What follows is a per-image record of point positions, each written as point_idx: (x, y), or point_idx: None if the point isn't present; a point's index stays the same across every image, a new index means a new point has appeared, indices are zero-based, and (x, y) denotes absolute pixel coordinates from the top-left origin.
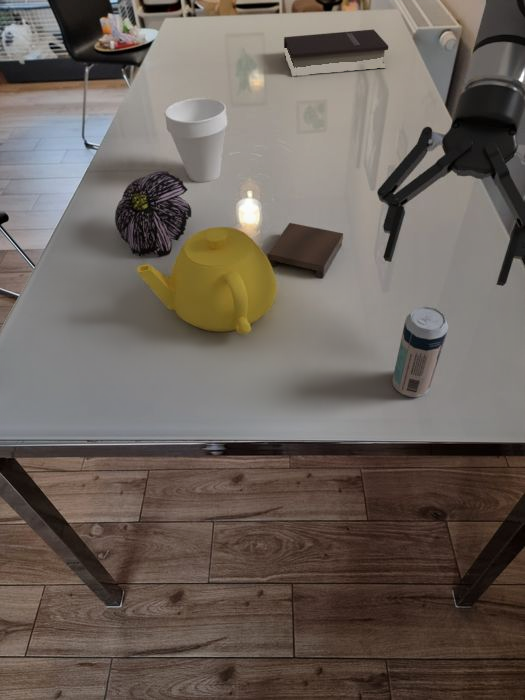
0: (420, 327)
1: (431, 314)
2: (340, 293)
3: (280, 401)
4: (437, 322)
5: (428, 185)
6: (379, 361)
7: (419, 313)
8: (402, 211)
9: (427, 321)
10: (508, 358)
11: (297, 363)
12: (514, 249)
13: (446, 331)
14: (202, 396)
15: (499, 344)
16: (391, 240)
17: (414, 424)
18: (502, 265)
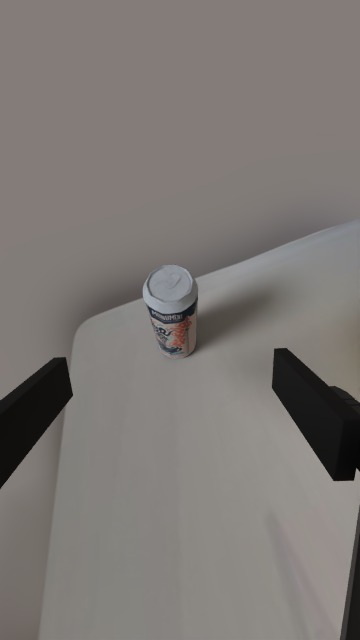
0: (174, 265)
1: (166, 291)
2: None
3: (279, 281)
4: (156, 282)
5: (345, 604)
6: (217, 360)
7: (182, 287)
8: (332, 409)
9: (168, 278)
10: (75, 427)
11: (294, 323)
12: (13, 393)
13: (143, 287)
14: (341, 261)
15: (85, 451)
16: (296, 364)
17: None
18: (53, 409)
